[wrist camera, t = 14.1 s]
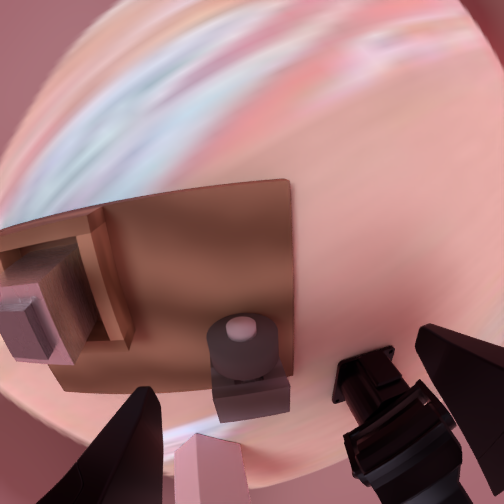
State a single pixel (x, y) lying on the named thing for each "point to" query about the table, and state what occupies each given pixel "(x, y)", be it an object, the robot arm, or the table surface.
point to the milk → (210, 472)
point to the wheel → (243, 346)
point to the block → (47, 306)
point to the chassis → (177, 288)
